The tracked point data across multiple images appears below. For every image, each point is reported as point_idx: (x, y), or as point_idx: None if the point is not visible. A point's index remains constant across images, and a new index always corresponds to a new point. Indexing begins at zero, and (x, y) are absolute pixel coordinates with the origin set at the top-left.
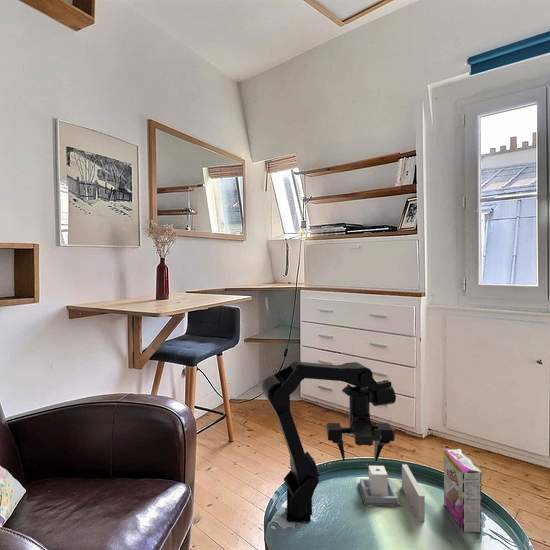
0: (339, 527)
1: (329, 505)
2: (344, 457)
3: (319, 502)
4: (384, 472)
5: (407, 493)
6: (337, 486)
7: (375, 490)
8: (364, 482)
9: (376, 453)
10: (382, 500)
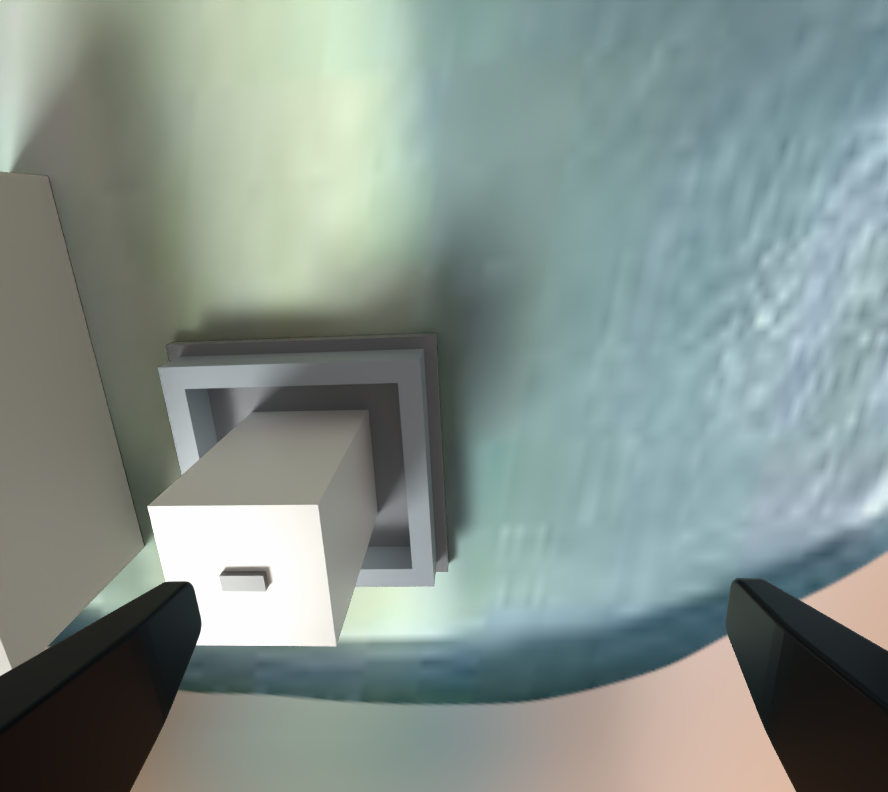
0: (692, 42)
1: (718, 318)
2: (783, 618)
3: (794, 349)
4: (178, 539)
5: (92, 446)
6: (608, 534)
7: (327, 433)
8: (403, 557)
9: (58, 685)
10: (289, 358)
